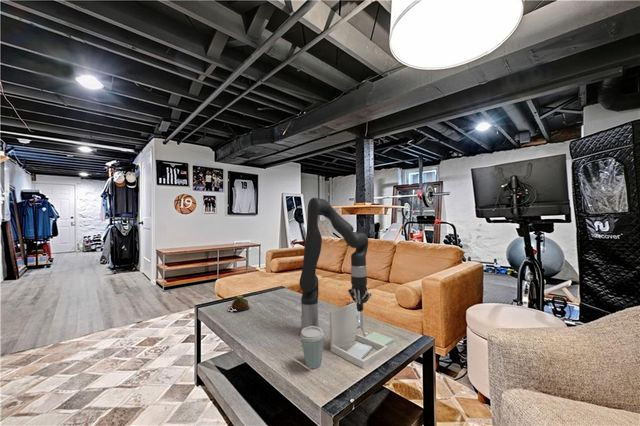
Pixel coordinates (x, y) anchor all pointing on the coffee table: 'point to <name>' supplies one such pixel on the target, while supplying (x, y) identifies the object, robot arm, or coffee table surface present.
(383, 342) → the mat
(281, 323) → the coffee table surface
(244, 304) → the cactus
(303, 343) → the disposable coffee cup
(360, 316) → the disk drive
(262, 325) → the coffee table surface
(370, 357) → the case
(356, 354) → the hard drive
